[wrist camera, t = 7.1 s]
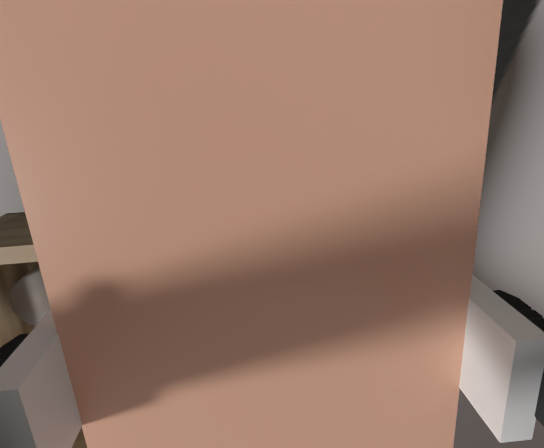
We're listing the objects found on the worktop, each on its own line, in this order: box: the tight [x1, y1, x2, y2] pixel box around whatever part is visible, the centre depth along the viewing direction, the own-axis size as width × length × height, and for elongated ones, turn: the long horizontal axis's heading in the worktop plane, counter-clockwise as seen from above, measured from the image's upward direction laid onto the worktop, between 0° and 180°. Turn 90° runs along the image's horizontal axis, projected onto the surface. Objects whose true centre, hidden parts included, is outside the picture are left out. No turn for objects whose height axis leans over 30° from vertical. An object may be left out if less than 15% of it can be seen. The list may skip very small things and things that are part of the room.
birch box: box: [0, 212, 87, 448], centre depth 28 cm, size 16×7×7 cm, turn 3°
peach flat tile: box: [0, 0, 503, 448], centre depth 12 cm, size 18×10×3 cm, turn 3°
